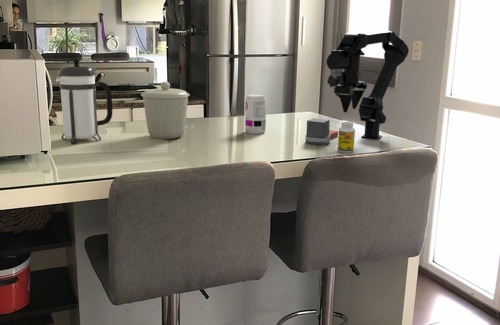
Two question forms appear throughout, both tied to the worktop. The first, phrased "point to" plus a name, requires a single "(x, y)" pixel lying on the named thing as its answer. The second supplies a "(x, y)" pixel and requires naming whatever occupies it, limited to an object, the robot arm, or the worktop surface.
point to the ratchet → (321, 141)
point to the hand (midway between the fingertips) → (349, 110)
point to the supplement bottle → (346, 137)
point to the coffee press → (81, 102)
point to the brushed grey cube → (318, 128)
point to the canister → (165, 111)
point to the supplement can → (255, 114)
